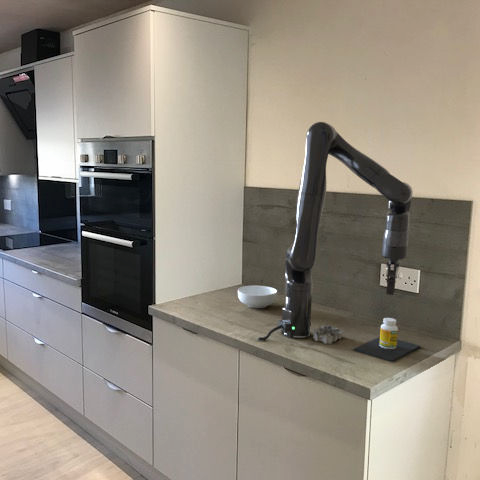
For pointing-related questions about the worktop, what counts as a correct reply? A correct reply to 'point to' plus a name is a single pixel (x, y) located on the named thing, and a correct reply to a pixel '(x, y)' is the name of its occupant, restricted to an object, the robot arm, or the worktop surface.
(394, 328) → the supplement bottle
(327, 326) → the egg carton
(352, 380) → the worktop surface
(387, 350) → the placemat
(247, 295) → the cereal bowl
